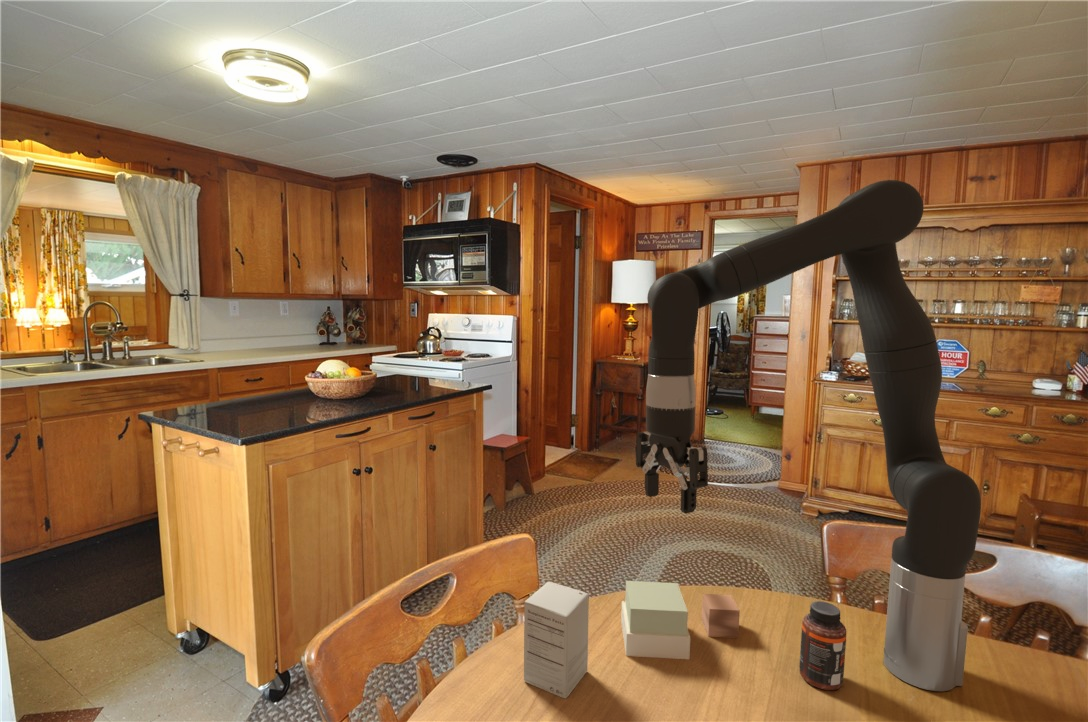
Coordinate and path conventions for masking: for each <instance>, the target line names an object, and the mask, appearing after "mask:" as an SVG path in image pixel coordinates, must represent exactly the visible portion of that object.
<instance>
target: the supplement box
mask: <svg viewBox="0 0 1088 722" xmlns="http://www.w3.org/2000/svg"><path fill="white" fill-rule="evenodd" d="M589 602H590V594H589V593H587V592H585V591H582V590H579V589H576V588H572V587H568V586H566V585H561V584H559V583H555V582H552V581H547V582H546V583H545V584H544V585H542V586H541V587H540V588H539V589H537V591H535V592H534V593H533V594H532V595H530V596H529V597H528V598H527V599H526V600H524V614H523V615H524V620H523V621H524V622H523V623H524V625H523V626H524V628H523V629H524V630H523V635H524V636H523V681H524V682H525V683H527V684H529V685H531V686H534V687H537V688H538V689H541V690H544V691H545V692H547V693H551V694H552V695H555V696H557V697H559V698H563V699H568V698H569V695H570V694H571V693H572V692H573V691H574V689H575V688H576V687H577V686H578V683H580V682H581V680H582V679H583V677H584V676H585V675H586V673H587V672H588V670H589V669H588V662H589V661H588V660H589V658H588V656H589V655H588V654H589V649H588V648H589V609H590V607H589V606H590V603H589Z"/></svg>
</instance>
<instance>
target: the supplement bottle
mask: <svg viewBox="0 0 1088 722" xmlns="http://www.w3.org/2000/svg"><path fill="white" fill-rule="evenodd" d="M841 619H842V618H841V610H840V608H838V607H837V605H834V604H832V603H830V602H826V601H821V600H819V601H818V600H817V601H816V600H815V601H812V602H811V603H810V609H809V613H807V614H805V615H804V617H803V618H802V623H801V635H800V637H801V638H800V650H799V651H800V652H799V654H800V655H799V674H800V676H801V677H802V679H804V681H806V683H808V684H809V685H811V686H813V687H816V688H818V689H822V690H826V691H836V690H839V689H840V688H841V687H842V686H843V682H844V675H845V661H846V650H847V649H846V647H847V645H846V644H847V629H846V626H845V625H844V623H843V622H842V621H841Z"/></svg>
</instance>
